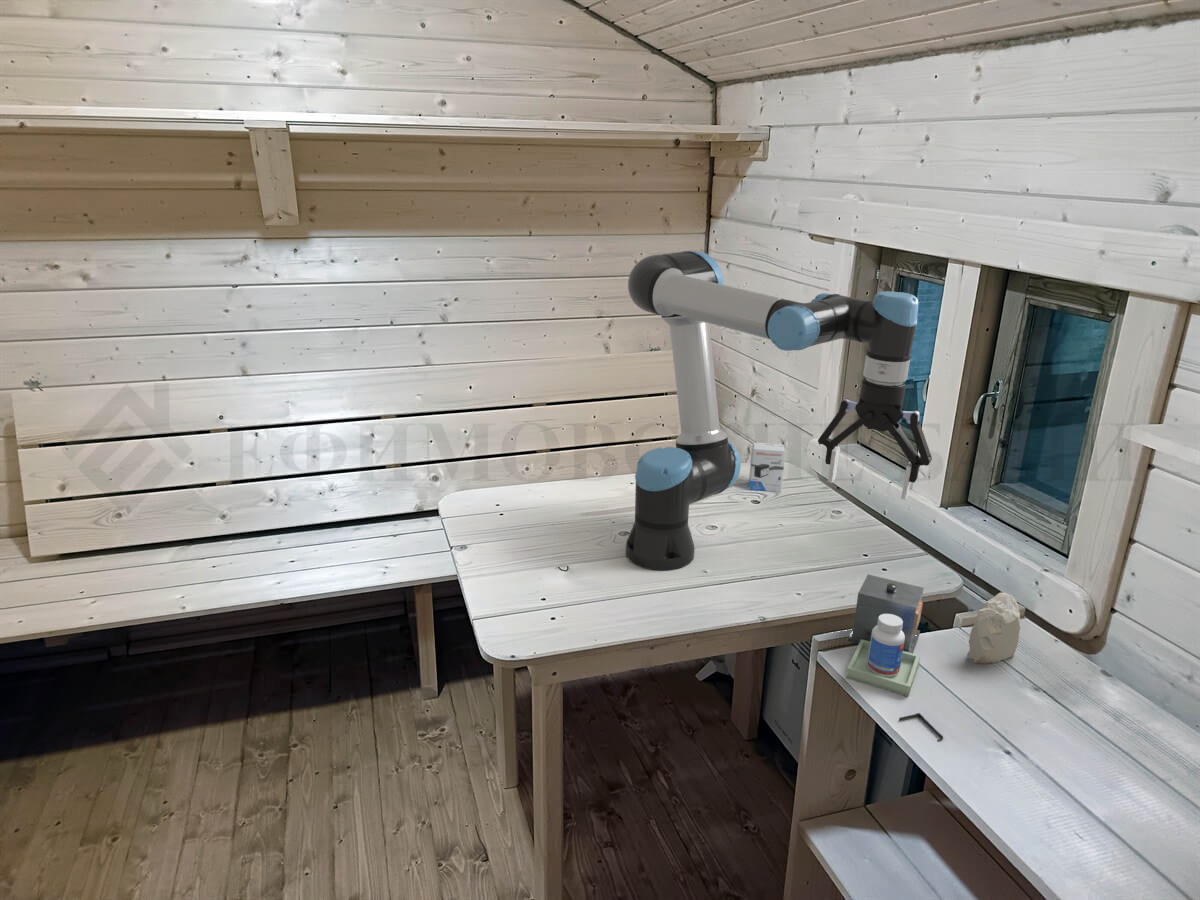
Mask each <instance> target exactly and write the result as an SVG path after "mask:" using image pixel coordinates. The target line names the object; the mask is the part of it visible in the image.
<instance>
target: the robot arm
mask: <svg viewBox="0 0 1200 900" xmlns="http://www.w3.org/2000/svg"><path fill="white" fill-rule="evenodd" d="M627 289H628V293H629V296H630V298H631V300H632V302H633V303H634V304H635V306H637V307H638V308H639V309H641V310H643V311H645V312H647V313H651V314H655V315H658V316H661V319H662V320H663V321H664V322H665V323H666V324H667V325H668V326H669V332H670V339H671V340H670V341H671V342H670V343H671V349H672V359H673V361H672V362H673V366H674V367H673V368H674V376H675V378H674V379H675V386H676V394H677V395H676V396H677V405H678V413H679V422H680V423H679V424H680V433H679V434H678V436H677V437H676V438H675V447H672V446H666V447H664V448H662V447H658V448H653V449H651V450H648V451H646V452H645V453H643V454H642V455H641V456H640V457H639V459H638V460H637V464H636V471H635V477H634V478H635V497H634V498H635V499H634V500H635V501H634V502H635V503H634V507H635V508H634V522H633V524H632V527H631V530H630V532H629V535H628V536H627V540H626V544H625V555H626V558H628V560H629V561H630V562H631V563H633V564H634V565H637V566H639V567H642V568H645V569H650V570H655V571H656V570H657V571H670V570H677V569H680V568H681V569H682V568H683V567H686V566H688V565H689V564H691V563H692V562H693V561H694V558H695V549H696V548H695V543H694V540H693V536H692V533H691V530H690V526H689V514H690V513H689V512H690V511H689V510H690V505H692V504H695V503H697V502H699V501H702V500H704V499H707V498H710V497H712V496H715V495H719V494H722V493H723V492H724V491H726V490H727V489H730V488H731V487H732V486H733V485H734V484H735V483H736V482H737V480H738V478H739V476H740V472H741V467H742V465H741V464H742V463H741V457H740V453H739V451H738V449H735V445H734V444H733V443H732V442H731V441H729V440H728V439H729V438H728V433H726V432H725V431H724V430H722V429H721V427H720V426H721V425H720V420H719V419H720V418H719V407H718V397H717V387H716V378H715V377H716V376H715V368H714V358H713V349H712V347H713V346H712V337H711V329H710V324H711V325H715V326H718V327H721V328H726V329H730V330H734V331H737V332H740V333H744V334H749V335H753V336H755V337H760V338H763V339H767V340H770V341H771V343H772V344H773V345H775V347H776V348H777V349H780V350H782V351H790V352H791V351H801V350H802V351H803V350H805V349H808V348H810V347H814V346H818V345H820V344H826V343H829V342H834V341H837V340H842V339H843V340H849V341H853V342H858V343H863V344H866V353H865V359H864V366H863V371H862V374H863V377H864V378H863V379H862V380H861V386H860V387H861V388H860V394H859V399H858V402H856V401H854V400H853V401H852V400H851V399H850V398H849V397H845V399H843V400H842V401H841V403H840V404H839V410H838V412H837V413H836V414H835V416H834V417H833V419H832V420H831V422H830V423H829V424H828V426H827V427H826V428H825V430H824V431H823V432H822V433H821V435H820V436H819V438H818V439H817V443H818V444H819V445H822V446H825V447H826V448H825V449H826V452H825V453H826V455H825V461H824V462H825V464H826V465H829V469H828V470H829V472H828V479H827V483H830V484H833V482H834V481H835V480H836V479H837V478H836V477H837V472H838V471H837V470H838V464H839V458H840V457H839V456H840V450H841V446H837V445H839V444H840V443H841V442H843V441H844V440H845V439H847V438H848V437H849V436H851V435H852V434H853V433H855V431H857V430H858V429H859V428H861V427H863V426H864V427H865V428H866V429H868V430H877V431H879V432H883V433H884V432H887V431H888V432H889V434H890V435H891V436H892V437H893V438H894V439H895V442H896V443H897V444H898V446H899V447H900V449H901V451H902V452H903V454H904V455H905V457H906V458H907V460H908V461H909V462H908V463H907V464H906V467H905V475H904V477H903V478H904V480H903V485H902V490H901V495H900V499H902V500H906V499H907V497H908V496H909V494H910V488H911V487H910V486H911V483H916V482H917V480H918V476H919V472H920V467H921V466H926V467H927V466H929V465H930V463H931V462H932V461H933V458H932V454H931V451H930V448H929V444H928V442H927V439H926V437H925V434H924V431H923V428H922V425H921V412H920V410H918V409H915V410H913V411H908V410H907V411H906V410H904V406H903V405H904V399H905V393H906V387H907V386H906V384H905V382H906V381H907V380H908V376H909V369H910V363H911V357H912V356H911V353H912V350H913V344H914V338H915V334H916V333H915V332H916V328H917V324H918V313H919V312H918V311H919V299H918V298H917V297H916V295H913V294H911V293H907V292H902V291H901V292H900V291H899V292H897V291H892V290H891V291H880V292H877V293H876V294H875V295H874V299H873V300H867V299H861V298H858V297H857V298H856V297H851V296H845V295H841V294H840V293H839V294H838V293H825V292H824V293H819V294H817V295H815V297H814V298H813V299H811V301H810V302H809V301H808V302H798V301H795V300H790V299H785V298H782V297H778V296H777V297H776V296H774V295H769V294H764V293H759V292H755V291H751V290H747V289H743V288H739V287H733V286H729V285H724V277H723V274H722V270H721V267H720V266H719V264H718V263H717V261H716V260H715V259H714V258H713V257H712V256H710V254H708V253H706V252H703V251H698V250H697V251H693V250H690V251H689V250H688V251H687V250H684V251H680V252H673V253H671V252H670V253H664V254H654V255H649V256H646V257H644V258H642V259H640V261H638V262H637V263H636V264H635V265H634V266H633V268H632V269H631V271H630V273H629V276H628V280H627ZM853 410H855V411H856V414H857V416H858V417H859V418H857V419H856V420H855V421H854V422H853V423H851V424H850V425H848V427H846V428H845V429H844V430H842V431H841V432H840V433H838V434H837V435H836V436H835V437H834V438H830V437H831V435H832V433H833V432H834V431H835V430H836V428H837V427H838V425H839V424H840V423H841V422H842V420H843V419H844V417H845V416H846V415H847V413H848V414H849V413H851V412H852V411H853ZM903 418H904V419H905V421H906V423H907V424H909V425H910V431H911V433H912V437H913V440H914V442H915V445H916V448H917V451H916V449H915V448H914V446H913V444H912V443H911V441H910V440H909V438H908V437H907V435H906V433H905V431H904V430H903V429H902V425H901V424H900V423H899V422H900V421H901V420H902V419H903Z"/></svg>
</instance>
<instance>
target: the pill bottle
mask: <svg viewBox="0 0 1200 900" xmlns="http://www.w3.org/2000/svg"><path fill="white" fill-rule="evenodd" d="M902 626H903V621H902V619H901V618H900V617H898V616H896V615H893V614H882V615H880V616H879V617H878V622H877V626H875V627H874V628H873V630H872V634H871V641H870V648H869V654H868V661H867V666H868V668H869V670H870V671H871V672H873V673H875V674H877V675H879V676H883V677H892V676H895V675H897V674H898V673H899V670H900V665H901V659H902V653H903V647H904V641H905V635H904V633H903V631H902Z"/></svg>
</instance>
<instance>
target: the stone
mask: <svg viewBox="0 0 1200 900" xmlns="http://www.w3.org/2000/svg"><path fill="white" fill-rule="evenodd" d="M1020 630H1021V613H1020V607H1019V604H1018V602H1017V601H1016V599H1015V598H1014V596H1012V595H1011V594H1010V593H1009V594H1008V593H1006V592H998V593H997V594H996V595H995V596H994V597H992V598H991V599H988V600H987V601H986V602H985V604H984V605H983V608H981V609H979V610H978V612H977V614H976V617H975V619H974V625H973V626H972V628H971V630H970V633H969V639H968V644H969V645H968V646H969V650H968V652H967V654H966V655H967V659H969V660H970V661H971V660H972V661H973V662H972V661H971V662H972V663H974V662H975V664H991V663H990V662H993V663H997V662H996V661H998V662H1000V661H999V660H1002V661H1004V660H1003V659H1005V660H1007V659H1006V658H1008V659H1009V657H1010V658H1011V657H1013V656H1014V655H1015V653H1016V649H1017V647H1018V643H1019V637H1020Z"/></svg>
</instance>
